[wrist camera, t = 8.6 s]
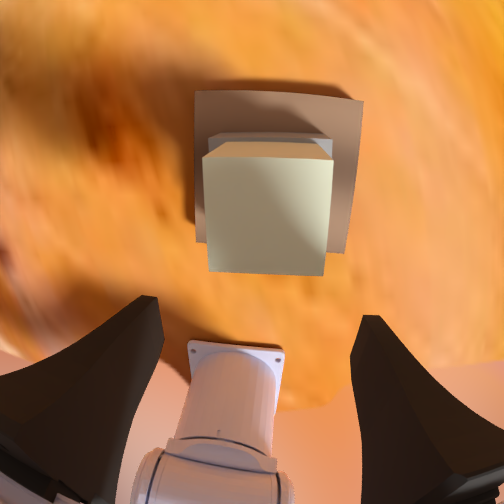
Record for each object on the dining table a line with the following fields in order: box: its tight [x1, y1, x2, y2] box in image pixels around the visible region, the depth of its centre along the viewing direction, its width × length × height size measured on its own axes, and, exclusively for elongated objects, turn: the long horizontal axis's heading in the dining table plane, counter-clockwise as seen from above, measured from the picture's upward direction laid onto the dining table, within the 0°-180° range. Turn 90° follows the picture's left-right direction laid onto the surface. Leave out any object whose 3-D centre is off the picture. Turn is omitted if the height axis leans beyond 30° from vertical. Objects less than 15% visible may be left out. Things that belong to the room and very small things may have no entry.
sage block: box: [202, 141, 334, 276], centre depth 12 cm, size 4×4×4 cm
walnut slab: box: [194, 90, 364, 254], centre depth 18 cm, size 9×9×2 cm
